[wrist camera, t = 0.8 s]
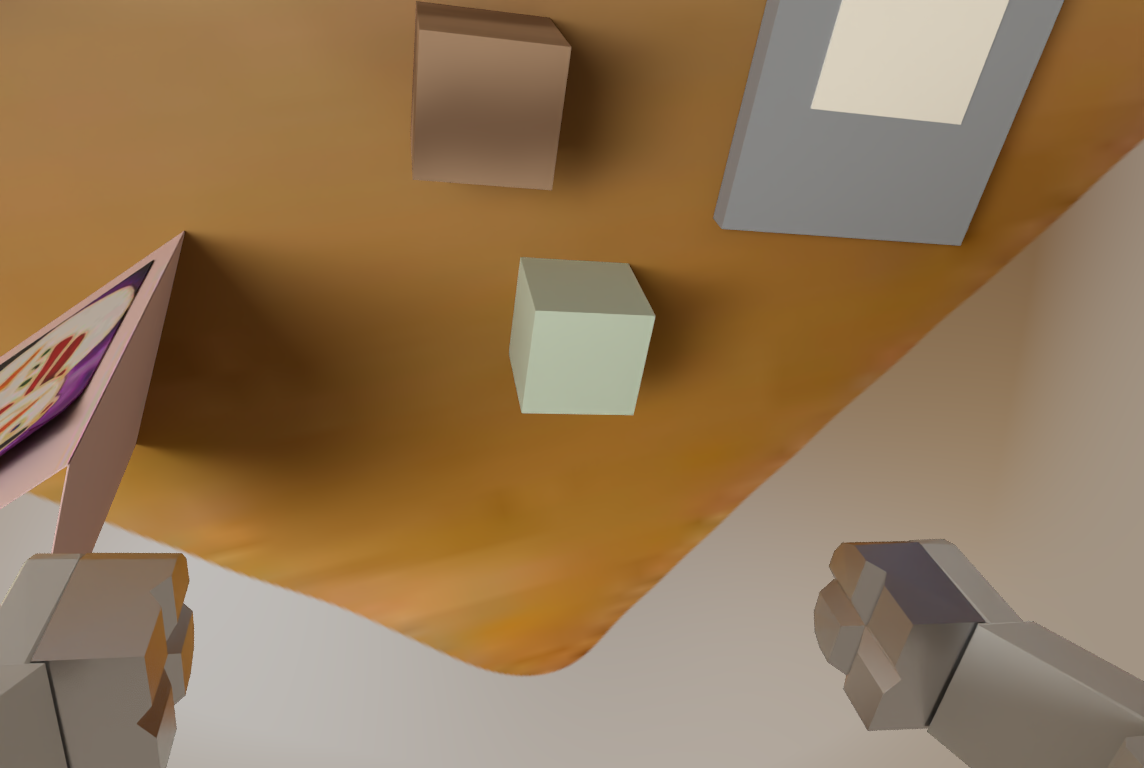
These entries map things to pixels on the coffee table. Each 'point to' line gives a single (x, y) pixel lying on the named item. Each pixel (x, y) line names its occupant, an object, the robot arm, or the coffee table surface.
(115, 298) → the greeting card
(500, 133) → the walnut block
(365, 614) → the coffee table surface
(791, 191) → the baseplate
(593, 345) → the sage green block
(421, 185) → the coffee table surface
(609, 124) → the coffee table surface
